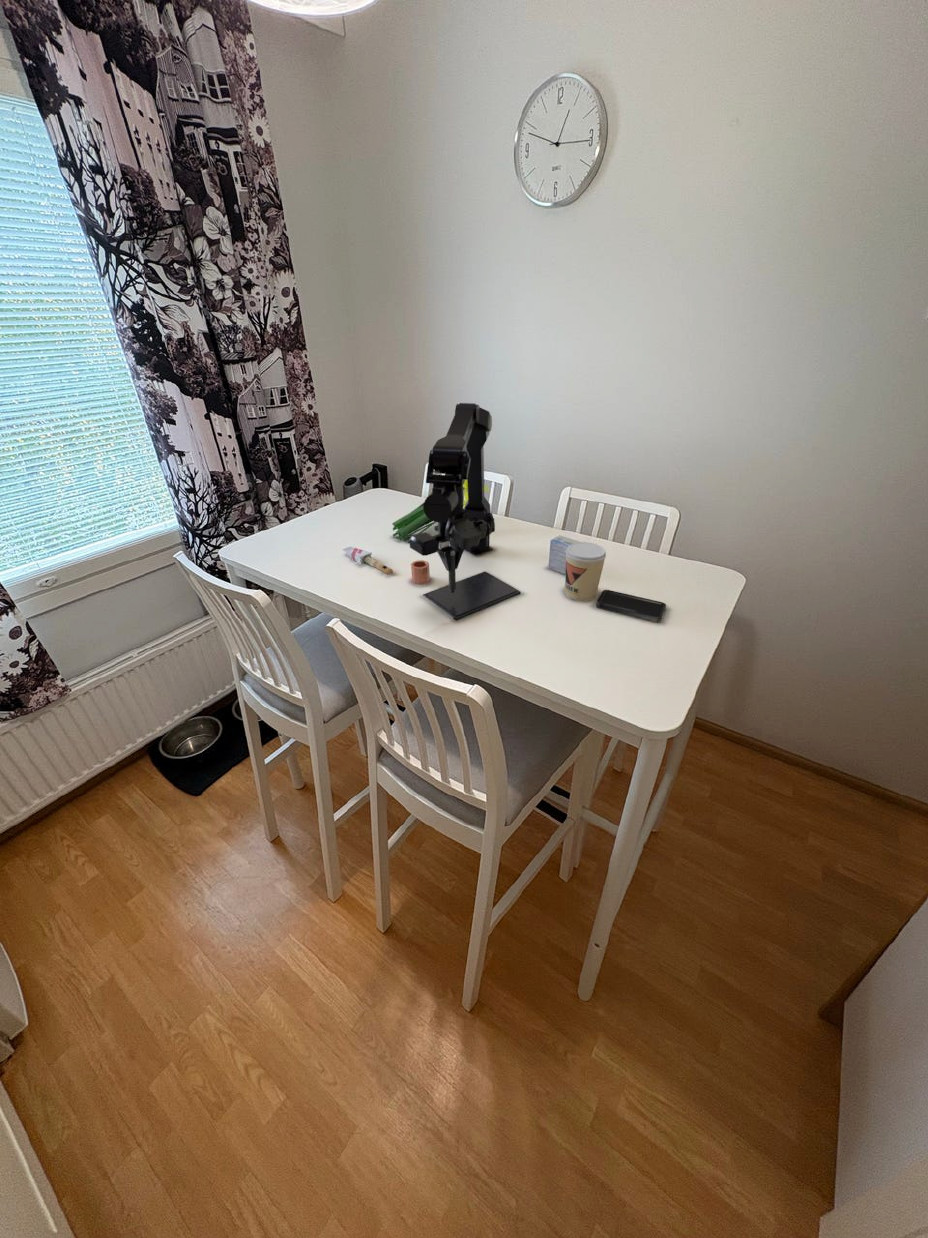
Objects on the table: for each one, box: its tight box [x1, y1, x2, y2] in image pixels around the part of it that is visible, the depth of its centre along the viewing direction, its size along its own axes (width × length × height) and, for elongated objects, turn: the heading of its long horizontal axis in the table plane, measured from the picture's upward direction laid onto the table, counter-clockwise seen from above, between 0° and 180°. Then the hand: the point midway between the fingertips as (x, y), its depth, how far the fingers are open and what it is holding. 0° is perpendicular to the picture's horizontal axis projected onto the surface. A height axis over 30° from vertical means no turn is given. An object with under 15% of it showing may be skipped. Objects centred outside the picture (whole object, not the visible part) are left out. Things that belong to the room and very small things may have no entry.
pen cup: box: [410, 559, 431, 585], centre depth 127 cm, size 5×5×5 cm
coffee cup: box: [564, 541, 607, 602], centre depth 119 cm, size 9×9×12 cm
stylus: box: [448, 551, 457, 593], centre depth 114 cm, size 2×2×10 cm
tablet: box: [422, 571, 521, 622], centre depth 122 cm, size 20×14×1 cm
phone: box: [595, 589, 667, 623], centre depth 116 cm, size 8×1×15 cm
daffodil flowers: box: [391, 480, 490, 543], centre depth 156 cm, size 17×15×35 cm
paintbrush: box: [342, 546, 393, 575], centre depth 137 cm, size 4×3×20 cm
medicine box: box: [547, 534, 581, 575], centre depth 131 cm, size 8×4×9 cm, turn 47°
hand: (451, 569), depth 114 cm, fingers closed on stylus, 1 cm apart
